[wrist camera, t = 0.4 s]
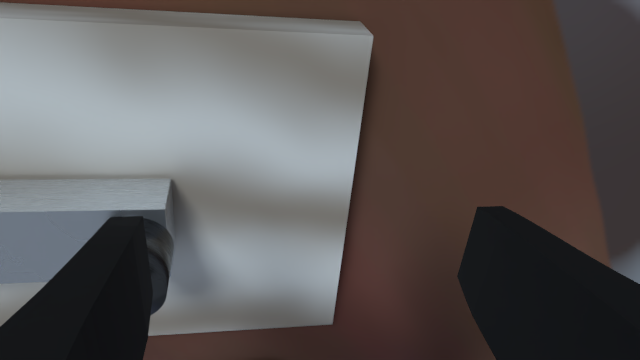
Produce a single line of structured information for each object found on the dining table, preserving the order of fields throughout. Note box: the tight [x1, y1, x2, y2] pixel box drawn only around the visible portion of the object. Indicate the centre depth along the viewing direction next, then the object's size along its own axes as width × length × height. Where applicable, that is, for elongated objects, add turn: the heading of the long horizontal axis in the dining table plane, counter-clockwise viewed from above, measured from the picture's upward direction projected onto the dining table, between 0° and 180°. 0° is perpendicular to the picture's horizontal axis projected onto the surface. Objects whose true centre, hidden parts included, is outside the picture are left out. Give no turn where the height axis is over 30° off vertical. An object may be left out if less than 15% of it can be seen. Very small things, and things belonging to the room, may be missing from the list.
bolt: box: [0, 179, 176, 315], centre depth 16 cm, size 3×10×4 cm, turn 85°
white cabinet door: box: [0, 2, 373, 336], centre depth 17 cm, size 14×25×6 cm, turn 85°
